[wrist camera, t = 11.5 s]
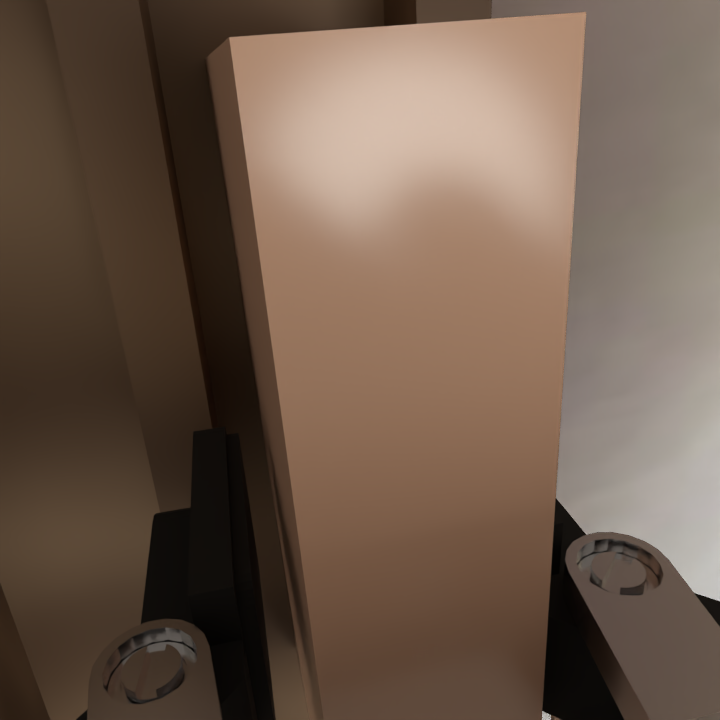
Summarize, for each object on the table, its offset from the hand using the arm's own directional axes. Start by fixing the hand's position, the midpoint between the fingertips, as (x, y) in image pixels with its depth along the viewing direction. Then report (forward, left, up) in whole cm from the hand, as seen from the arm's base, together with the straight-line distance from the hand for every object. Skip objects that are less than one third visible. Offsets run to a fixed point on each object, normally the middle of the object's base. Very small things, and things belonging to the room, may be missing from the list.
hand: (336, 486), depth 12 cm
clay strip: (0, 0, -3) cm, 3 cm away
